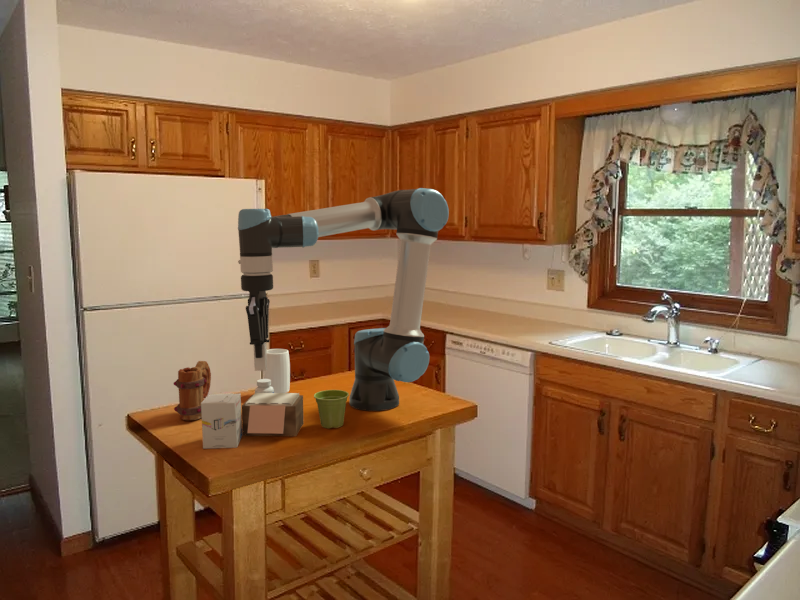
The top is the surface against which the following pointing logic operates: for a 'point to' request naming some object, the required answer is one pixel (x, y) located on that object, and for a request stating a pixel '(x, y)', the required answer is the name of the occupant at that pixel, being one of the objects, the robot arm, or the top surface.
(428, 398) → the top surface
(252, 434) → the block
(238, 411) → the ink box
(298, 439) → the top surface
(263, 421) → the panel
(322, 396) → the plant pot
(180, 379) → the mug
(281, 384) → the cup
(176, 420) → the top surface
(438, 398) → the top surface
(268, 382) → the pill bottle
